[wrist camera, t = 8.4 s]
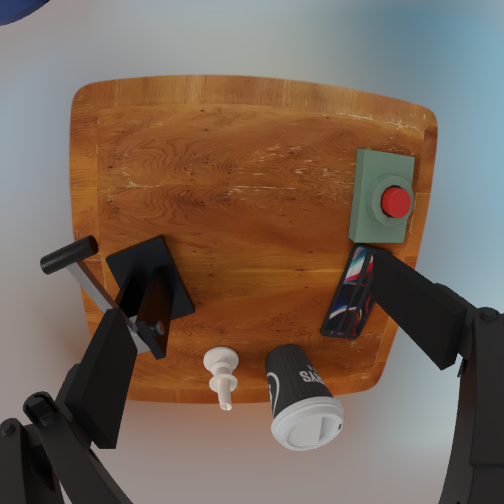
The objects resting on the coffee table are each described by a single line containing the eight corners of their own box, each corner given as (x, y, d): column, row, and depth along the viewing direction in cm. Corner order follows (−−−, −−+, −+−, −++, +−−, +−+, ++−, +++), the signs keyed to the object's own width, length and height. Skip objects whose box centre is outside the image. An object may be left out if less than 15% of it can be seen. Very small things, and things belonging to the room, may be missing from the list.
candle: (201, 370, 45) (203, 421, 35) (205, 344, 43) (208, 395, 34) (234, 373, 46) (243, 423, 36) (241, 348, 44) (251, 398, 35)
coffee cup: (300, 384, 49) (328, 453, 35) (247, 378, 47) (263, 454, 33) (323, 340, 46) (362, 408, 32) (267, 331, 44) (292, 407, 30)
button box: (356, 148, 37) (372, 150, 33) (405, 156, 38) (422, 158, 34) (348, 237, 41) (361, 247, 37) (395, 237, 42) (410, 247, 38)
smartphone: (319, 336, 45) (355, 243, 40) (318, 333, 46) (353, 241, 41) (358, 339, 47) (395, 253, 42) (356, 337, 47) (393, 251, 43)
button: (382, 185, 35) (390, 188, 34) (405, 188, 36) (412, 190, 34) (379, 214, 36) (386, 217, 35) (401, 215, 37) (409, 218, 35)
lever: (44, 250, 21) (36, 269, 19) (91, 227, 21) (86, 247, 19) (121, 339, 30) (121, 358, 28) (162, 326, 30) (164, 346, 28)
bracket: (107, 255, 37) (68, 309, 24) (162, 234, 37) (142, 282, 24) (143, 324, 41) (125, 394, 28) (195, 307, 41) (194, 377, 28)
